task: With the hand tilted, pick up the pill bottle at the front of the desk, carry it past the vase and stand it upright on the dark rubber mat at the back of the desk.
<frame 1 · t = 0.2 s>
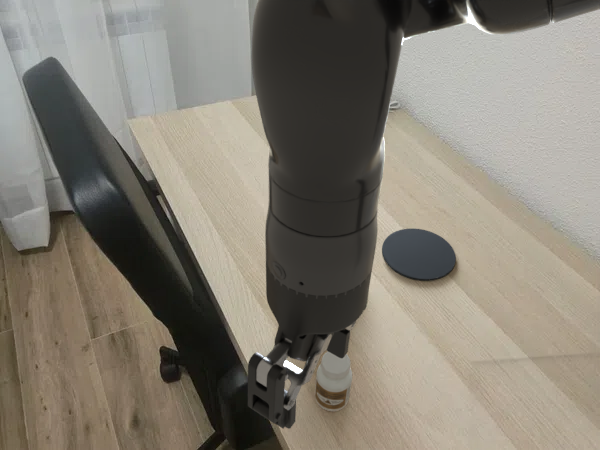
hand: (310, 384, 49), 20 cm above the table, tool pointing down, fingers open, 8 cm apart
vase: (337, 277, 87), on the table
rubber mat: (418, 254, 91), on the table
pill bottle: (331, 397, 70), on the table
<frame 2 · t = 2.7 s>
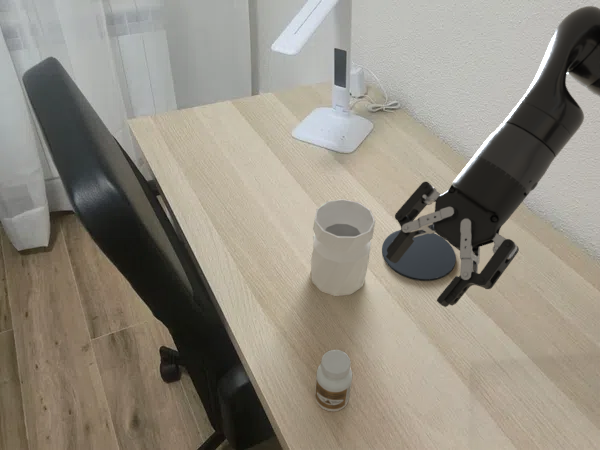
hand: (415, 281, 66), 15 cm above the table, tool tilted 45°, fingers open, 8 cm apart
nothing on the table moved.
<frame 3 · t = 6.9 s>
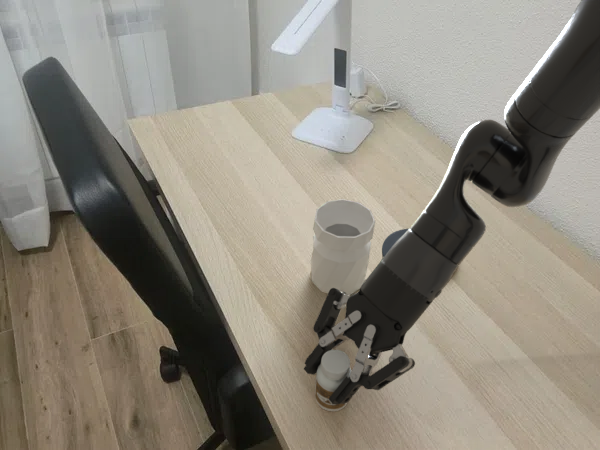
hand: (321, 386, 67), 4 cm above the table, tool tilted 45°, fingers closed on pill bottle, 4 cm apart
pill bottle: (331, 397, 70), on the table, touching gripper
everything else where it was.
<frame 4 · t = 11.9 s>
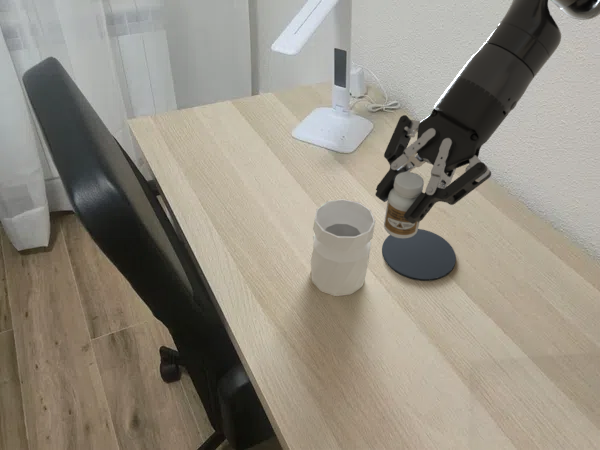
hand: (394, 209, 67), 20 cm above the table, tool tilted 45°, fingers closed on pill bottle, 4 cm apart
pill bottle: (400, 229, 71), point 16 cm above the table, touching gripper
everything else where it was.
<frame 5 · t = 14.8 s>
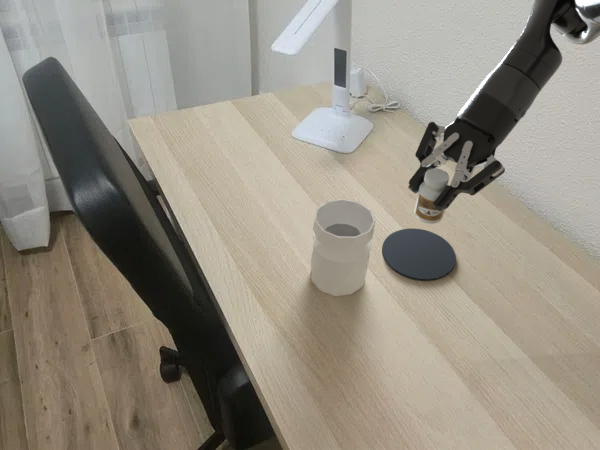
hand: (424, 199, 82), 12 cm above the table, tool tilted 45°, fingers closed on pill bottle, 4 cm apart
pill bottle: (428, 216, 85), point 8 cm above the table, touching gripper
everything else where it was.
when the fingers open (4 cm above the table, at t = 17.1 s): pill bottle stays where it is, resting on rubber mat.
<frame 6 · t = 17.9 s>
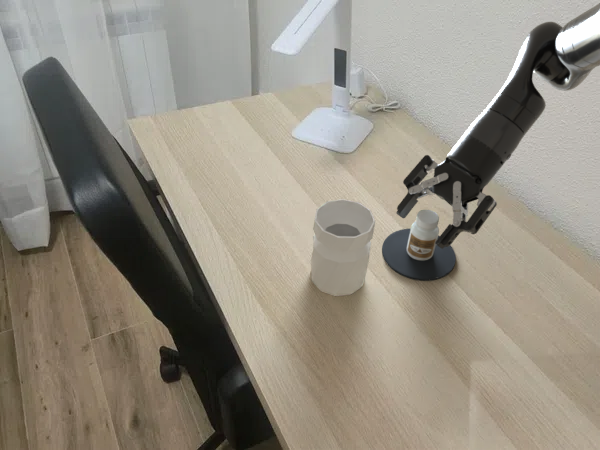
hand: (418, 230, 86), 6 cm above the table, tool tilted 45°, fingers open, 8 cm apart
pill bottle: (419, 253, 91), resting on rubber mat
everything else where it was.
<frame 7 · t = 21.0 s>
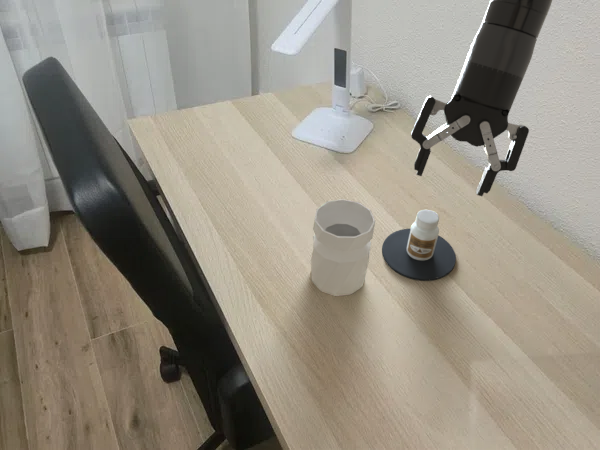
hand: (448, 184, 76), 18 cm above the table, tool tilted 25°, fingers open, 8 cm apart
nothing on the table moved.
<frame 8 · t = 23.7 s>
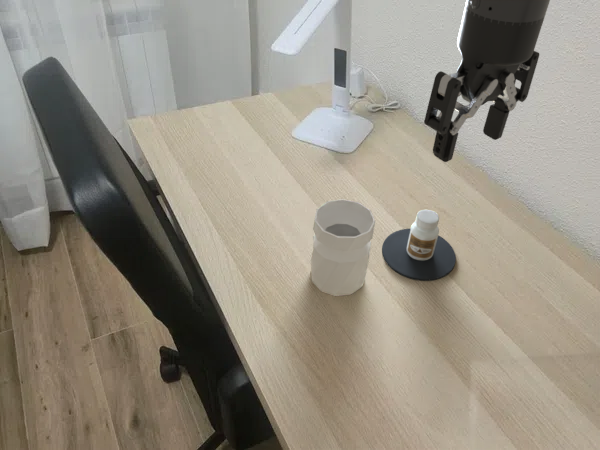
hand: (467, 146, 64), 28 cm above the table, tool pointing down, fingers open, 8 cm apart
nothing on the table moved.
at the end: pill bottle inside the target area on the rubber mat (0.1 cm from its centre), point 0.2 cm above the rubber mat's base; pill bottle tilted 0°; the gripper is holding nothing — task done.
